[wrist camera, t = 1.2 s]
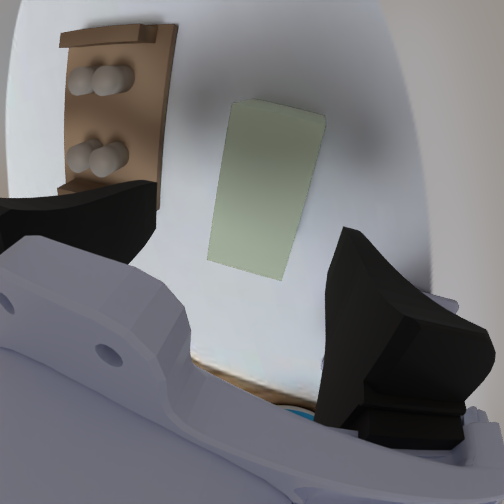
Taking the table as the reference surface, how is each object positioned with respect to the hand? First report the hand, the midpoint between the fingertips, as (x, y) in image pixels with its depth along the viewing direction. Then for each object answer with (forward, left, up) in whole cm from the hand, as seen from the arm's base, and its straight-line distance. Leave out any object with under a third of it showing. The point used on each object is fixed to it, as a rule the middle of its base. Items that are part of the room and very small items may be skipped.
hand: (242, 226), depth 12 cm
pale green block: (0, 0, -8) cm, 8 cm away
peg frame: (+2, +11, -7) cm, 13 cm away
